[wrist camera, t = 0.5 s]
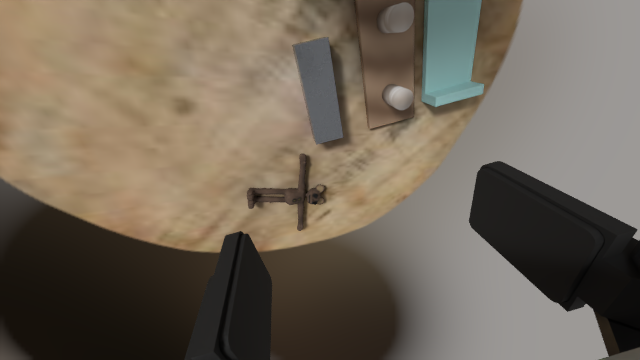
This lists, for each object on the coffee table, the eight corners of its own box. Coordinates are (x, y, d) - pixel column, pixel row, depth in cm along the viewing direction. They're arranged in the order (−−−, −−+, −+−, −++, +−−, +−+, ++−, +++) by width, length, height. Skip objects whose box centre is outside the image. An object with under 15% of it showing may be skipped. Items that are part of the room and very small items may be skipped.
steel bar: (291, 44, 32) (294, 45, 29) (322, 37, 33) (328, 37, 29) (312, 135, 40) (316, 144, 37) (337, 129, 40) (343, 137, 37)
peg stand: (352, -17, 30) (367, -28, 25) (411, -32, 30) (436, -46, 25) (367, 127, 41) (379, 138, 36) (410, 115, 41) (428, 124, 36)
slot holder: (426, -57, 29) (446, -70, 26) (485, -72, 29) (513, -87, 26) (421, 101, 40) (435, 106, 36) (465, 89, 40) (482, 93, 37)
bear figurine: (241, 157, 37) (330, 161, 38) (247, 147, 40) (328, 150, 42) (250, 238, 46) (322, 238, 47) (254, 224, 50) (320, 224, 51)
